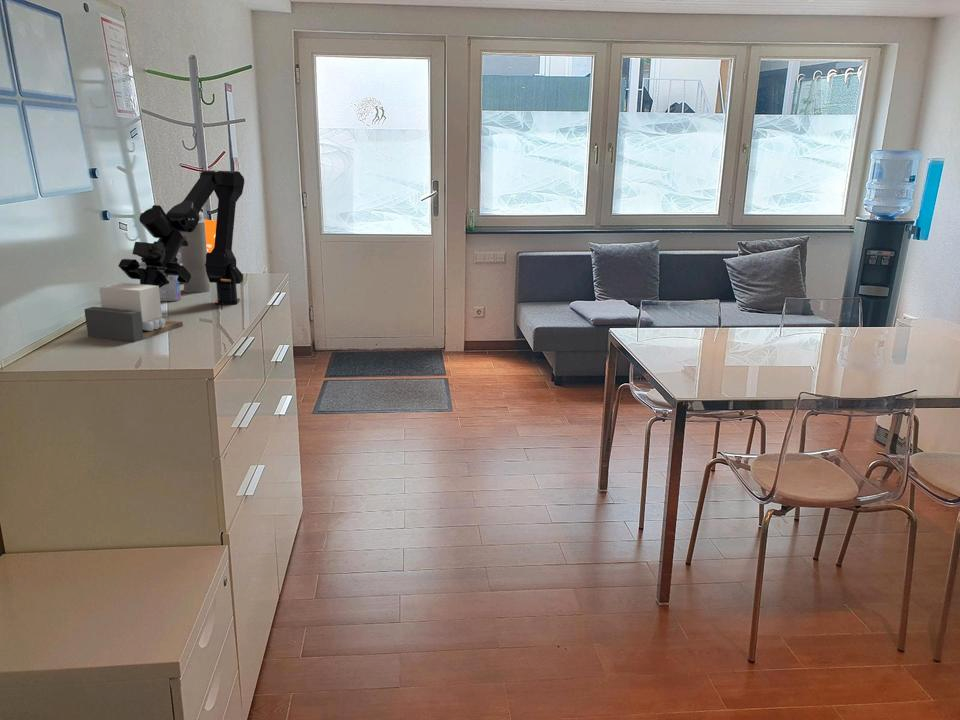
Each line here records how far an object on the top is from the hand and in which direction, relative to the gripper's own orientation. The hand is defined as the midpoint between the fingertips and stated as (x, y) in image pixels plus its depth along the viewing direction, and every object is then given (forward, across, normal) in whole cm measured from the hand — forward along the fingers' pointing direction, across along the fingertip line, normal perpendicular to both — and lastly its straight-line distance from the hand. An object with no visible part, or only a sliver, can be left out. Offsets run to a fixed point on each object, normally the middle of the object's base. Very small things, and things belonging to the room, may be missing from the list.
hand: (141, 297), depth 193 cm
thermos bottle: (-29, -20, +40) cm, 54 cm away
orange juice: (-47, -31, +58) cm, 81 cm away
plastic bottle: (-36, -34, +48) cm, 69 cm away
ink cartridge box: (-17, -20, +29) cm, 39 cm away
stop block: (+13, 0, -1) cm, 13 cm away
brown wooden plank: (+8, 0, +4) cm, 9 cm away
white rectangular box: (+8, 0, +2) cm, 8 cm away
